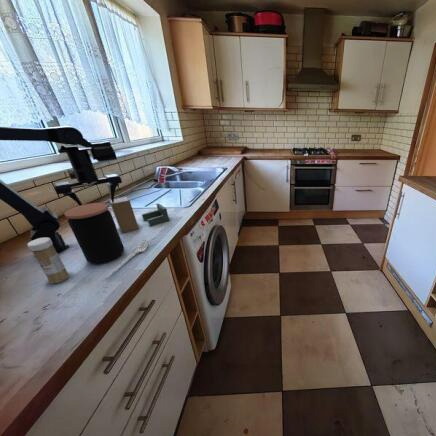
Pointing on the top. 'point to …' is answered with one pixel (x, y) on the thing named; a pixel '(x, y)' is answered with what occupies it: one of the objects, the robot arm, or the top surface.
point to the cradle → (156, 215)
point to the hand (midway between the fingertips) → (98, 204)
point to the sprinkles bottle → (48, 259)
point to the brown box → (124, 214)
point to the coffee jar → (95, 232)
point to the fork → (139, 249)
